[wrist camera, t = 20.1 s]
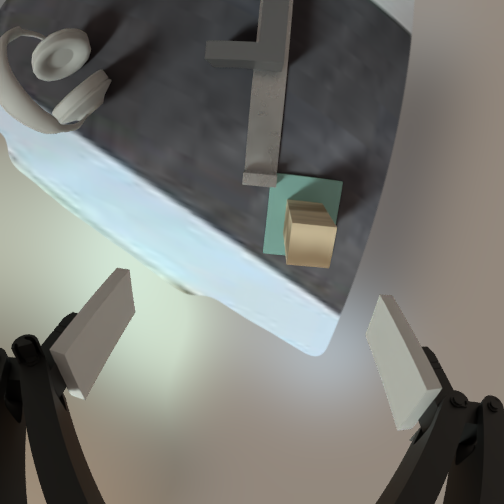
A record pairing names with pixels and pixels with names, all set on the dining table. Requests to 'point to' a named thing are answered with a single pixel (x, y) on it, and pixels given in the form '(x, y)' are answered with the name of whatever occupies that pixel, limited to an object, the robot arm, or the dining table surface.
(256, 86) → the rail
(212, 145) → the dining table surface
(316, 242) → the beech block
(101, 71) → the headphones
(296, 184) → the pad
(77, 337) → the robot arm
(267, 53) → the grey l-shaped block
